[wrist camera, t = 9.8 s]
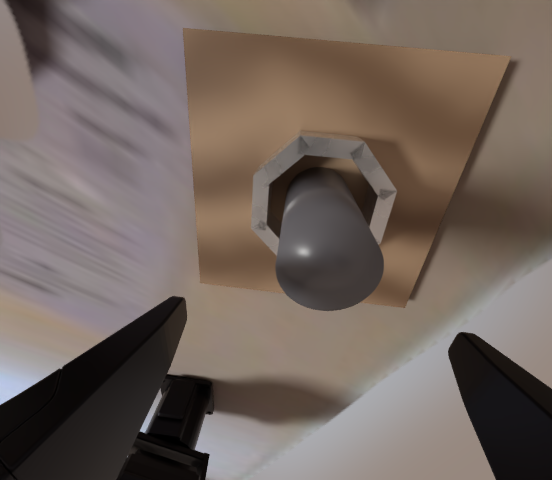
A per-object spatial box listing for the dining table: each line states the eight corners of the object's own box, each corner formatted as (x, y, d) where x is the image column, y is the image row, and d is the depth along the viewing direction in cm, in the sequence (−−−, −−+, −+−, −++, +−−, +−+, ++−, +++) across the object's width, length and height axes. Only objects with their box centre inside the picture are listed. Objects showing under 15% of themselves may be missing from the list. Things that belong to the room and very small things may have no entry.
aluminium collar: (363, 255, 21) (371, 274, 18) (254, 243, 21) (249, 260, 19) (396, 140, 16) (411, 146, 14) (260, 126, 17) (254, 130, 15)
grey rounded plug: (341, 229, 20) (368, 316, 12) (283, 222, 20) (271, 304, 12) (354, 170, 18) (398, 228, 10) (289, 163, 18) (280, 215, 10)
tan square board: (400, 298, 24) (404, 307, 23) (204, 275, 24) (200, 283, 23) (496, 59, 15) (511, 56, 14) (190, 32, 16) (182, 27, 15)
